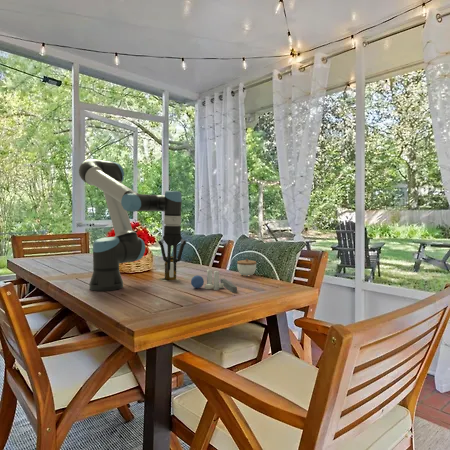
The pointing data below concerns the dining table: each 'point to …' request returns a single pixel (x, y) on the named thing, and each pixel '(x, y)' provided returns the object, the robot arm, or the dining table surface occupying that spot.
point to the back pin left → (209, 276)
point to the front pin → (211, 286)
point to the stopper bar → (229, 286)
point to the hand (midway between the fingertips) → (171, 276)
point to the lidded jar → (246, 267)
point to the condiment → (167, 277)
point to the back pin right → (216, 280)
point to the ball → (197, 281)
